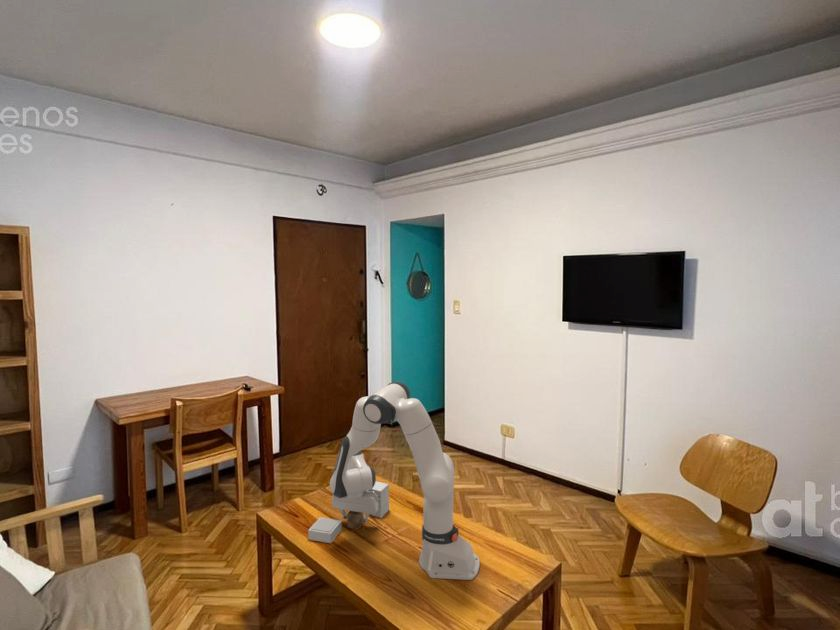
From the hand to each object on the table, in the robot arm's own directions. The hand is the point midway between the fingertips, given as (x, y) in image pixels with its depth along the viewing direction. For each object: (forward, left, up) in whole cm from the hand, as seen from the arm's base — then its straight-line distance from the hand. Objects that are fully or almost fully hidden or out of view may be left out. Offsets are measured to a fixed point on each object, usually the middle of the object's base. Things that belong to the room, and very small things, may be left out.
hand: (355, 520), depth 193 cm
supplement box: (-6, -12, -2) cm, 14 cm away
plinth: (+9, +10, -2) cm, 14 cm away
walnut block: (0, 0, -2) cm, 2 cm away
